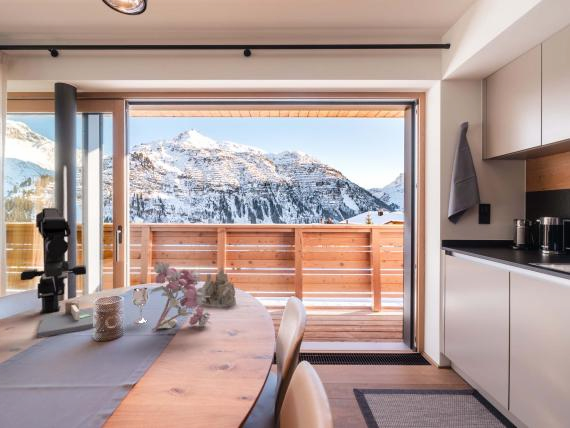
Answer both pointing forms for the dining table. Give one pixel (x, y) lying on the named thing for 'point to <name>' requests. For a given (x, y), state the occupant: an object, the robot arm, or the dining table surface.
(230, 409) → the dining table surface
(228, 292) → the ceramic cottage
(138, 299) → the wineglass
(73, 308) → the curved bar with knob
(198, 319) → the flower
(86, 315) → the dial plate
